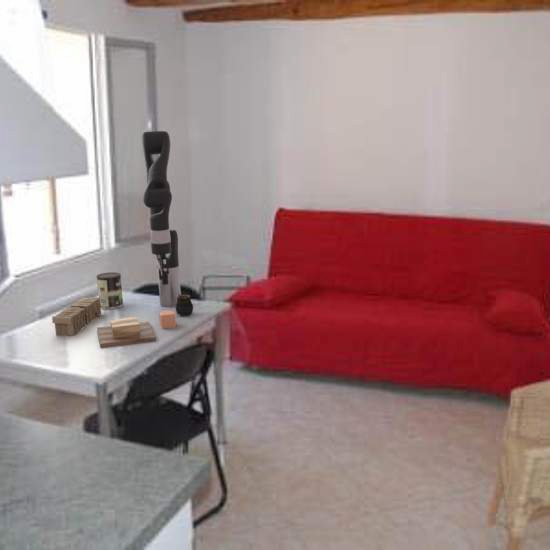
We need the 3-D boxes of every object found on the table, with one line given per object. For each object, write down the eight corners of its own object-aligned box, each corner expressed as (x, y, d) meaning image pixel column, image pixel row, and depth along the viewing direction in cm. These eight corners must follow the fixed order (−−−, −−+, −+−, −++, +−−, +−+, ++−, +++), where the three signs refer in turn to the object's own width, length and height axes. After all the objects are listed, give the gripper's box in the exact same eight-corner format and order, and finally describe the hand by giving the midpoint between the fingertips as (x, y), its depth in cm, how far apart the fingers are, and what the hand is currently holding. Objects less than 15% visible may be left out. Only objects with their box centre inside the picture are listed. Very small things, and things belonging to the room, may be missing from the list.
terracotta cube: (159, 324, 263) (159, 311, 261) (173, 323, 264) (172, 310, 263) (162, 328, 257) (161, 315, 256) (176, 327, 259) (175, 313, 258)
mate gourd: (195, 312, 278) (194, 289, 275) (190, 317, 270) (189, 294, 268) (179, 311, 279) (178, 289, 276) (173, 317, 272) (172, 294, 269)
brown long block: (84, 316, 280) (53, 336, 252) (82, 297, 278) (50, 315, 250) (102, 316, 279) (72, 337, 251) (100, 297, 277) (70, 315, 249)
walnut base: (97, 331, 257) (95, 317, 255) (148, 324, 262) (147, 311, 261) (100, 347, 238) (99, 333, 237) (155, 340, 244) (154, 326, 243)
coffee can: (125, 302, 295) (123, 271, 292) (120, 309, 285) (117, 277, 282) (102, 302, 296) (100, 272, 292) (96, 309, 285) (93, 278, 282)
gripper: (173, 243, 247) (176, 285, 251) (167, 237, 260) (170, 276, 264) (153, 245, 245) (156, 287, 248) (148, 238, 258) (151, 278, 262)
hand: (163, 281), depth 256 cm, fingers open, 8 cm apart
